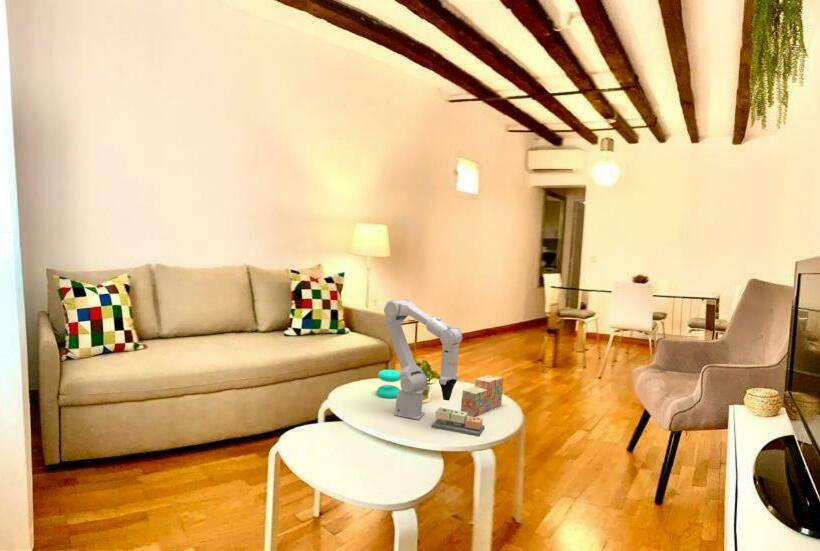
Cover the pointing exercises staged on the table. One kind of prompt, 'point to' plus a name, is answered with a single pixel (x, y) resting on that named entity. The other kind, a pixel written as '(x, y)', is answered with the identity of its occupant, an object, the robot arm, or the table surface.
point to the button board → (456, 427)
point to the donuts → (388, 390)
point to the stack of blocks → (482, 395)
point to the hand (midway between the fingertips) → (446, 399)
